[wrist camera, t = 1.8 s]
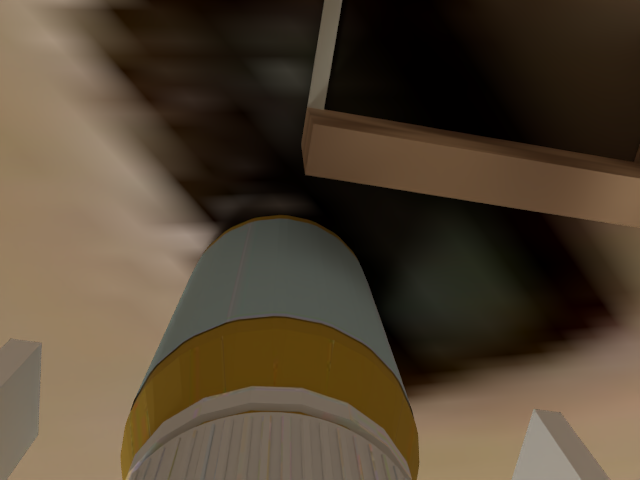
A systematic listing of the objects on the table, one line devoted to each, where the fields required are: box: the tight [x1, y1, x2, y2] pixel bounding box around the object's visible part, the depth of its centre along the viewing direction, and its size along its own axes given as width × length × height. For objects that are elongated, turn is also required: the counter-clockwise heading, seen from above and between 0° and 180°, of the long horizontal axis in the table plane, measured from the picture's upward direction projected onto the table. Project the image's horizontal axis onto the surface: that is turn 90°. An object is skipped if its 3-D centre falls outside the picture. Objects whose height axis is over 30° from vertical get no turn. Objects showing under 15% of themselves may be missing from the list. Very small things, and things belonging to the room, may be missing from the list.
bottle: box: [121, 215, 419, 480], centre depth 17 cm, size 7×7×15 cm
